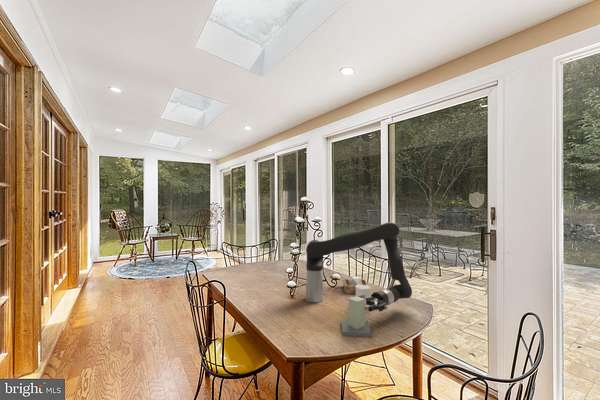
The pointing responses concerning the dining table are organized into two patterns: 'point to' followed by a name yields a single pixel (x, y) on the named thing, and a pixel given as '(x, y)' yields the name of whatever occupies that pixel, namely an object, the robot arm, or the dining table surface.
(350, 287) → the die frame
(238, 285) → the dining table surface
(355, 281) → the die
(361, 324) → the block
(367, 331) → the coaster
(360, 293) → the white cup
